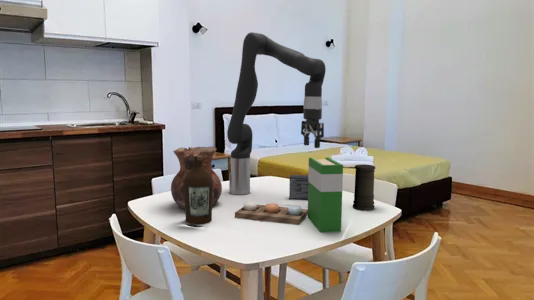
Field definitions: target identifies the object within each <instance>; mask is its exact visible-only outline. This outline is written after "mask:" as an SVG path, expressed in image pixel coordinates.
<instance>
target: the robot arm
mask: <svg viewBox="0 0 534 300" xmlns="http://www.w3.org/2000/svg"><path fill="white" fill-rule="evenodd" d="M241 52H242V53H241V64H240V71H239V77H238V81H237V87H236V92H235V98H234V104H233V109H232V113H231V116H230V120H229V123H228V127H227V132H226V134H227V135H226V137H227V139H228V142H229V143H230V144H233V145H236V147H235V148H234V149H233V150H232V151H230V173H229V174H228V176H229V177H228V179H229V182H228V183H229V184H228V186H229V187H228V191H229V192H228V193H229V194H231V195H232V194H233V195H244V196H245V195H248V194H250V193H251V154H252V149H253V130H252V127H251V126H250V125H249V124H248V123H244V122H245V119H246V116H247V113H248V112H249V111H250V109H251V107H252V106H253V104H254V103H255V100H256V97H257V92H258V87H259V83H258V76H257V73H256V60H257V55H259V56H260V55H262V56H268V57H272V58H274V59H275V60H278V61H279V62H280V63H281V64H283V65H285V66H287V67H290V68H292V69H295V70H296V71H298V72H300V73H301V74H303V75H306V76H309V80H308V82H306V83H305V85H304V98H303V119H304V120H301V127H300V128H301V129H300V135H302V136H303V146H309V145H310V134H312V135H313V137H314V141H313V142H314V145H313V146H314V149H320V148H321V139H322V138H324V137H325V134H324V133H325V126H324V125H325V123H324V122H320V120H322V118H323V117H322V116H323V113H322V112H323V99H322V98H323V97H322V94H323V93H322V91H323V89H322V87H323V83H324V79H325V77H326V64H325V62H324V61H323V60H322V59H320V58H314V57H310V56H306V55H305V54H304V53H302V52H300V51H298V50H295V49H292V48H290V47H287V46H284V45H282V44H279V43H278V42H276V41H274V40H273V39H271V38H269V37H268V36H267V35H265V34H262V33H259V32H252V31H251V32H248V33H247V34H246V35H245V37H244V39H243V42H242V51H241Z"/></svg>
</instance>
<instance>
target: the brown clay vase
mask: <svg viewBox="0 0 534 300" xmlns="http://www.w3.org/2000/svg"><path fill="white" fill-rule="evenodd" d="M172 152H173V153H174V155H175V156H176V157H177V159H178V162H179V171H178V172H177V174H175V175H174V177H173V179H172V180H171V185H170V193H171V197H172V199H173V201H174V202H175V204H176V205H178V207H180V208H182V209H183V210H185V198H184V185H183V182H184V178H185V176H186V174H187V173H188V172H189V171H190V170H191V169H192V168H193V160H194V158H193V156H202V160H203V167H204V168H205V169H206V170H207V171H208V172H209V174H210V175H211V177H212V180H213V194H212V207H213V206H215V205H216V204H217V203H218V201H219V199H220V198H221V195H222V191H223V185H222V181H221V180H220V177H219V175H218V174H217V173H216V172H215V171H214V170H213V169H212V161H213V160H212V159H213V157H214V155H215V153H216V152H217V147H216V146H195V147H191V146H189V147H188V148H186V147H178V148H177V149H174V150H173V151H172Z"/></svg>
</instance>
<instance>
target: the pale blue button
mask: <svg viewBox="0 0 534 300" xmlns="http://www.w3.org/2000/svg"><path fill="white" fill-rule="evenodd" d="M302 209H303V207H302V206H300V205H289V206H288V214H289V215H294V216H298V215H301V214H302Z"/></svg>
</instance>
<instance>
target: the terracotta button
mask: <svg viewBox="0 0 534 300" xmlns="http://www.w3.org/2000/svg"><path fill="white" fill-rule="evenodd" d="M265 205H266V212H267V213H278V212H279V207H280V205H279V204H278V203H273V202H271V203H270V202H269V203H266V204H265Z"/></svg>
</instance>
